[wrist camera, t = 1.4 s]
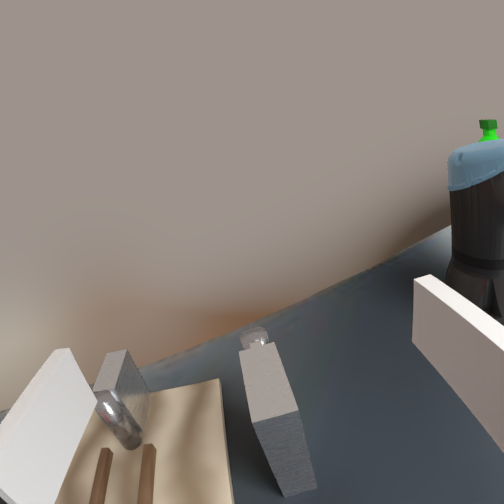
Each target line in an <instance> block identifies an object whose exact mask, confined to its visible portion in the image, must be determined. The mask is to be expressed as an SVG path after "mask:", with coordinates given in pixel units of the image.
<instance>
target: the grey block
mask: <svg viewBox="0 0 504 504" xmlns="http://www.w3.org/2000/svg"><path fill="white" fill-rule="evenodd" d="M240 340H241V343H242V346H243V349H244V350H243V351H239V356H240V362H241V368H242V373H243V379H244V384H245V389H246V395H247V400H248V405H249V411H250V416H251V421H252V425H253V427H254V429H255V432H256V434H257V437H258V439H259V441H260V444H261V446H262V448H263V451H264V453H265V455H266V458H267V460H268V462H269V465H270V467H271V469H272V471H273V474H274V476H275V478H276V480H277V483H278V485H279V487H280V489H281V491H282V493H283V496H284V497H288V496H292V495H296V494H299V493H303V492H306V491H310V490H313V489H316V488H317V485H316V481H315V476H314V472H313V468H312V464H311V459H310V455H309V451H308V447H307V443H306V438H305V434H304V430H303V426H302V422H301V418H300V413H299V409H298V407H297V404H296V401H295V398H294V396H293V393H292V390H291V387H290V385H289V382H288V379H287V376H286V373H285V371H284V368H283V365H282V362H281V359H280V357H279V354H278V351H277V348H276V345H275V343H274V342H272V343H270V341H269V338H268V334H267V331H266V329H265V328H263V327H252V328H249V329H247V330H245V331H243V332H242V333H241V335H240Z"/></svg>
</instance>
